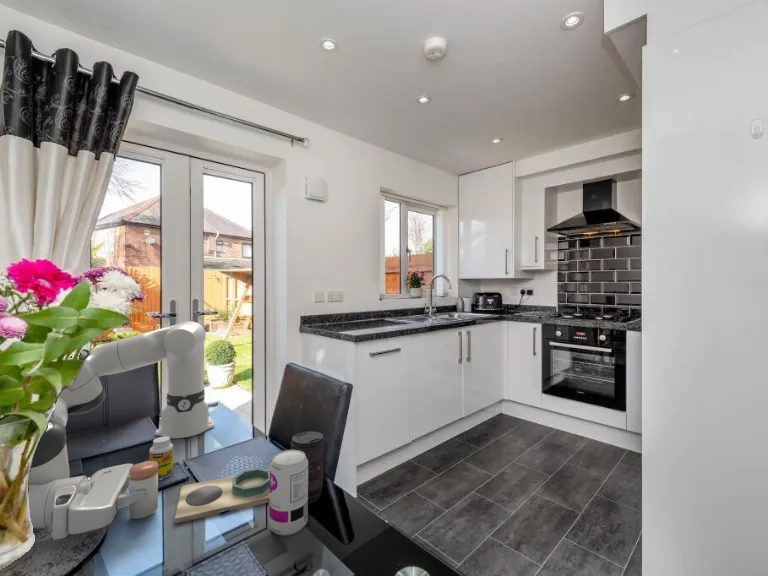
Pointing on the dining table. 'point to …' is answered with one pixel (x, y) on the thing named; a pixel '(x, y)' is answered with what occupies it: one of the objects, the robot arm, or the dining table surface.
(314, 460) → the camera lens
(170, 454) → the supplement bottle
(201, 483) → the seat board
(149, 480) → the lidded canister
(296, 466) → the supplement can
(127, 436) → the dining table surface
